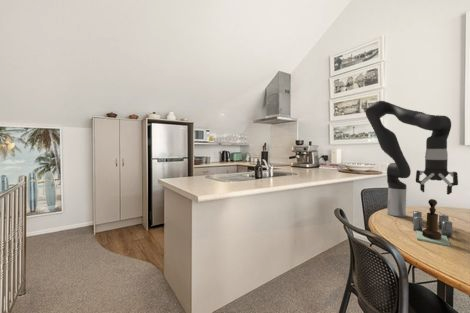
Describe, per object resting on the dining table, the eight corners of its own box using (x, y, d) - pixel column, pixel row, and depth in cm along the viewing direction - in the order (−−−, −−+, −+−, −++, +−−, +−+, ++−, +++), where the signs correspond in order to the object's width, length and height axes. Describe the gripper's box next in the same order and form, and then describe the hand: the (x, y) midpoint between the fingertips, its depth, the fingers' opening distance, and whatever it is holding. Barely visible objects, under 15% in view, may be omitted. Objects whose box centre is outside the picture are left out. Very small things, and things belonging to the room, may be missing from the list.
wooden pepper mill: (436, 235, 102) (437, 198, 102) (444, 240, 96) (446, 201, 95) (419, 233, 104) (420, 197, 104) (426, 238, 98) (427, 200, 98)
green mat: (416, 239, 99) (417, 237, 99) (416, 231, 108) (416, 230, 108) (450, 246, 92) (450, 244, 92) (446, 237, 101) (446, 236, 101)
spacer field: (413, 231, 109) (413, 217, 109) (412, 222, 121) (413, 210, 121) (452, 238, 100) (453, 223, 100) (447, 228, 112) (448, 215, 112)
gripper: (416, 158, 100) (415, 192, 100) (459, 159, 91) (459, 196, 92) (415, 157, 106) (415, 190, 106) (456, 158, 97) (455, 193, 98)
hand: (435, 193), depth 99 cm, fingers open, 8 cm apart
